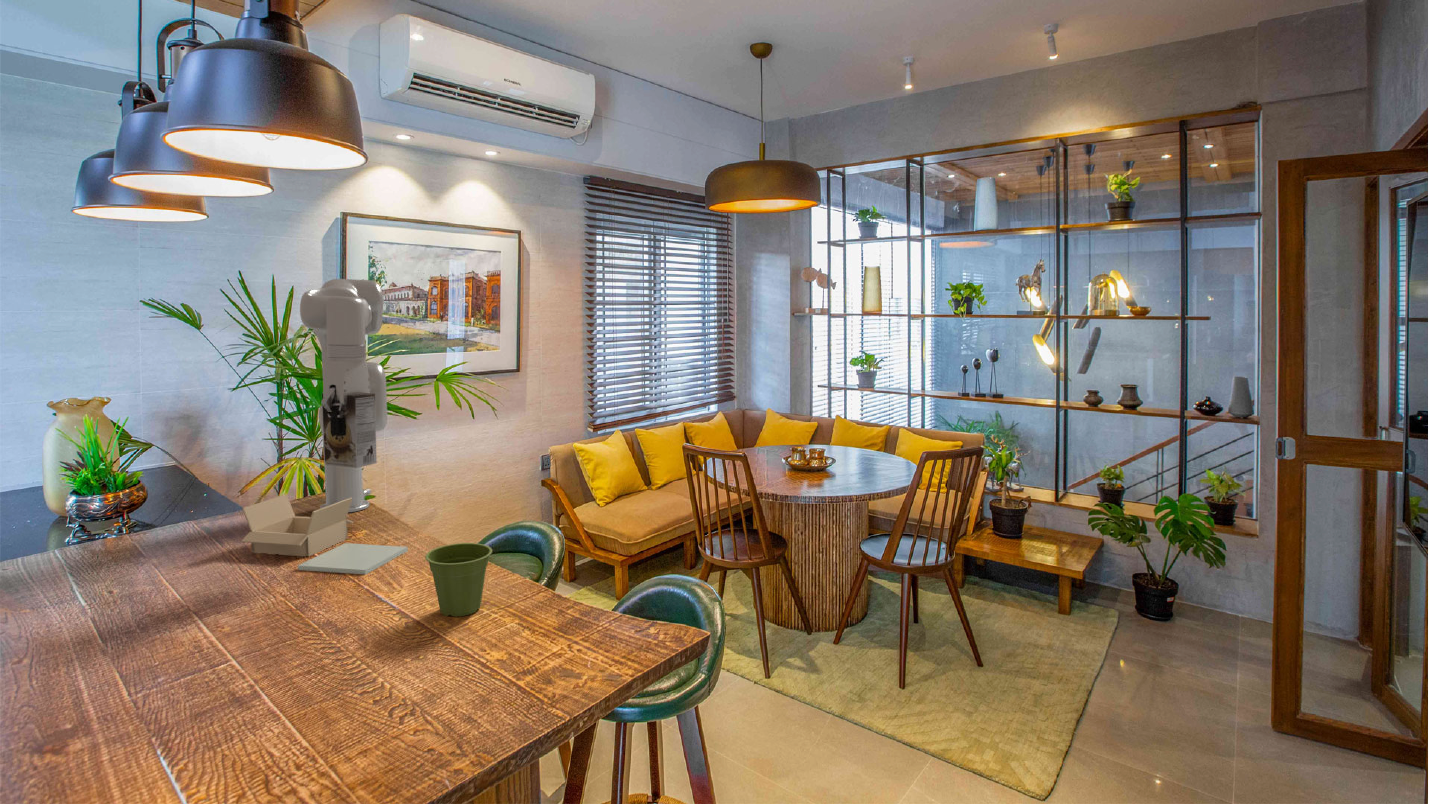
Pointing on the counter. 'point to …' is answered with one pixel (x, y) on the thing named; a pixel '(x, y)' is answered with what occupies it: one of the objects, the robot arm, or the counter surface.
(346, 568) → the tile
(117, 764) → the counter surface
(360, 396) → the coffee box
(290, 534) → the carton
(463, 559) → the plant pot
